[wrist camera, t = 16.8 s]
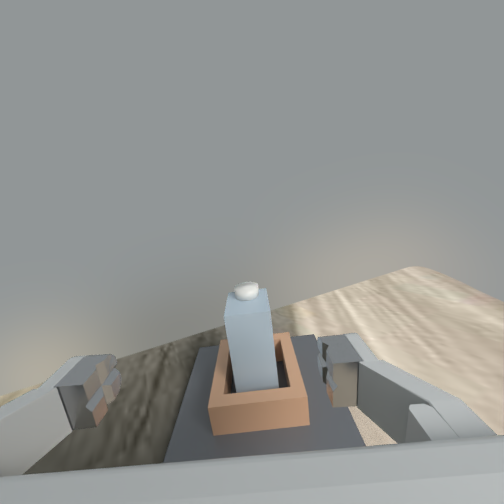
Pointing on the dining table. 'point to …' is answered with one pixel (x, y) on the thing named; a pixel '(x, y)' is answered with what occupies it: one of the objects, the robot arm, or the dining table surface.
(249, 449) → the plate
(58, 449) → the dining table surface
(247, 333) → the light blue tall block
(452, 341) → the dining table surface
